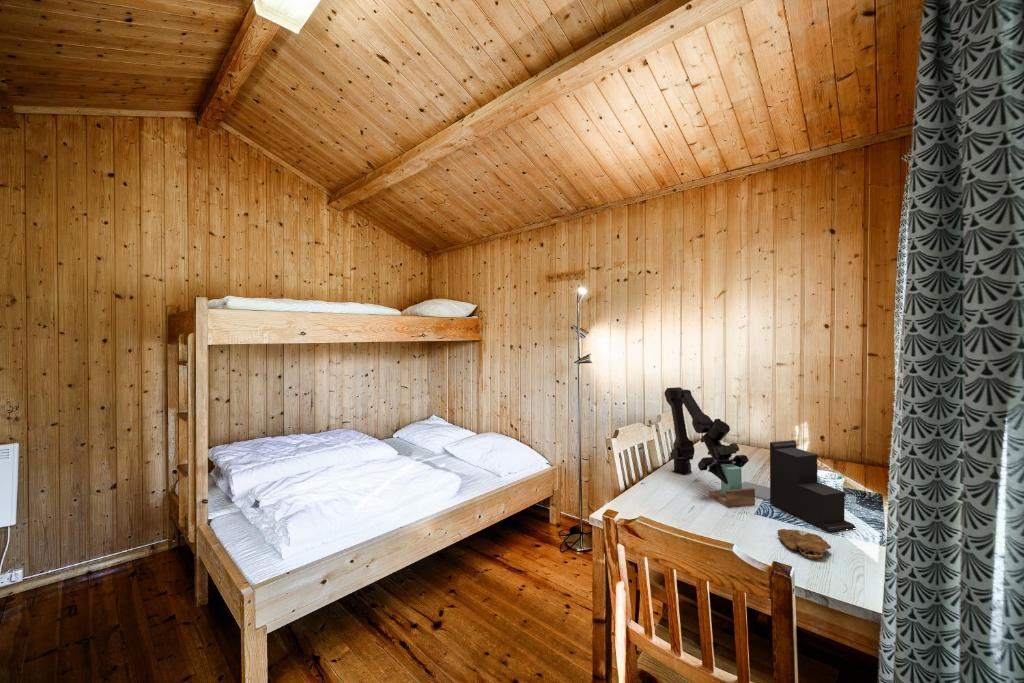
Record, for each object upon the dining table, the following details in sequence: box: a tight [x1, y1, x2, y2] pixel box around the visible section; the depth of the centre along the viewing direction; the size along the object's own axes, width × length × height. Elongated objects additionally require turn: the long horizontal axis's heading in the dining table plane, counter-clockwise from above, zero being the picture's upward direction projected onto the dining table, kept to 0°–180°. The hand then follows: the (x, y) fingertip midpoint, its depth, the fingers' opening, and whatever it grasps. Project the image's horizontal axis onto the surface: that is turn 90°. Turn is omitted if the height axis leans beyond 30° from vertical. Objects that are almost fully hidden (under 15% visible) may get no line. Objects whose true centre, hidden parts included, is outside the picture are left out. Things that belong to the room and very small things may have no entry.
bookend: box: [769, 439, 857, 533], centre depth 143 cm, size 23×11×24 cm, turn 11°
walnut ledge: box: [709, 488, 756, 508], centre depth 157 cm, size 11×11×6 cm
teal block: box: [720, 464, 743, 496], centre depth 157 cm, size 5×5×11 cm
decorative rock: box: [777, 528, 832, 560], centre depth 122 cm, size 11×4×15 cm
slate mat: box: [742, 481, 770, 501], centre depth 166 cm, size 14×14×1 cm
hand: (733, 483), depth 156 cm, fingers closed on teal block, 5 cm apart
